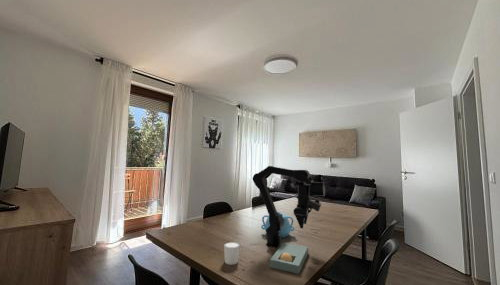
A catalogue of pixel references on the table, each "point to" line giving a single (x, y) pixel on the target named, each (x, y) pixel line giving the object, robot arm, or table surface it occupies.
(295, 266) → the deck
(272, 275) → the table surface
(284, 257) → the ball
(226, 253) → the white cylinder
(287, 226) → the decorative pot
